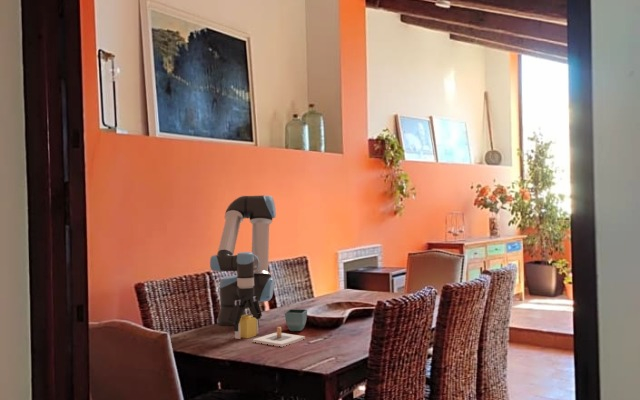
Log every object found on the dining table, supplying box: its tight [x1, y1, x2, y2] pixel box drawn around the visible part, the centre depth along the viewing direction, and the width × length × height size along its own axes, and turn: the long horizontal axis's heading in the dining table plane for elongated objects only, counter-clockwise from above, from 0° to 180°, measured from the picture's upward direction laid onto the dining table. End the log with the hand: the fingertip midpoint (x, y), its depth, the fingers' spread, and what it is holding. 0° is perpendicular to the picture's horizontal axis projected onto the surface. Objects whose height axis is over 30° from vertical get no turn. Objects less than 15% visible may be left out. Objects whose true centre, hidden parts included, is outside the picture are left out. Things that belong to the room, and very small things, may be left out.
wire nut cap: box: [239, 314, 257, 339], centre depth 263 cm, size 6×6×9 cm
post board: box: [252, 326, 306, 348], centre depth 253 cm, size 16×16×6 cm
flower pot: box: [284, 308, 308, 332], centre depth 273 cm, size 9×9×9 cm
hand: (246, 335), depth 263 cm, fingers open, 11 cm apart
